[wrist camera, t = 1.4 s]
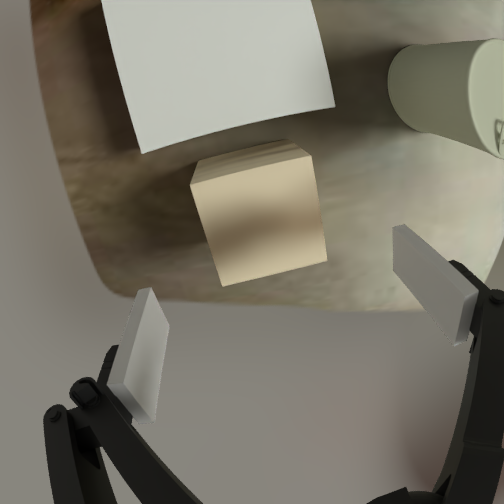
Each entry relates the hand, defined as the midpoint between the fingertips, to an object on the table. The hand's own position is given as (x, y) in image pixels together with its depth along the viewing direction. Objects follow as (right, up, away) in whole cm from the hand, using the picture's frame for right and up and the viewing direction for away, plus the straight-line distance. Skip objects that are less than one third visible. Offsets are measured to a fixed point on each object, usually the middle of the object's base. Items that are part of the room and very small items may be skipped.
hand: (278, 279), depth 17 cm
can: (+16, +17, +9) cm, 25 cm away
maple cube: (-1, +7, +12) cm, 14 cm away
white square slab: (-4, +19, +6) cm, 20 cm away
